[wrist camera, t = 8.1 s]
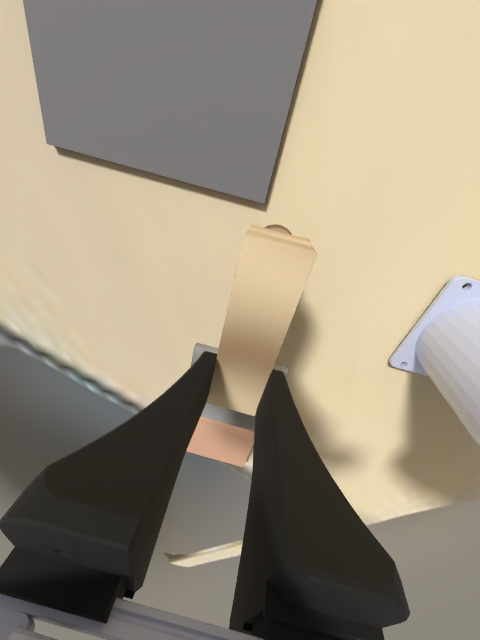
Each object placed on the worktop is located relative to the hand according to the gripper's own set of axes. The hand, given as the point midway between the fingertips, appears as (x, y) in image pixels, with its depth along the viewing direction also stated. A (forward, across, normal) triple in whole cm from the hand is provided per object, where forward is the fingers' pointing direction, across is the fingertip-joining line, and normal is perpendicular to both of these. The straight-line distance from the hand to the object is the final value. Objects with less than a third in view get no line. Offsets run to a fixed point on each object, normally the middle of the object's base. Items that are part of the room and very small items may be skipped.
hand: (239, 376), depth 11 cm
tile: (+8, -1, +15) cm, 17 cm away
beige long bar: (+4, 0, 0) cm, 4 cm away
